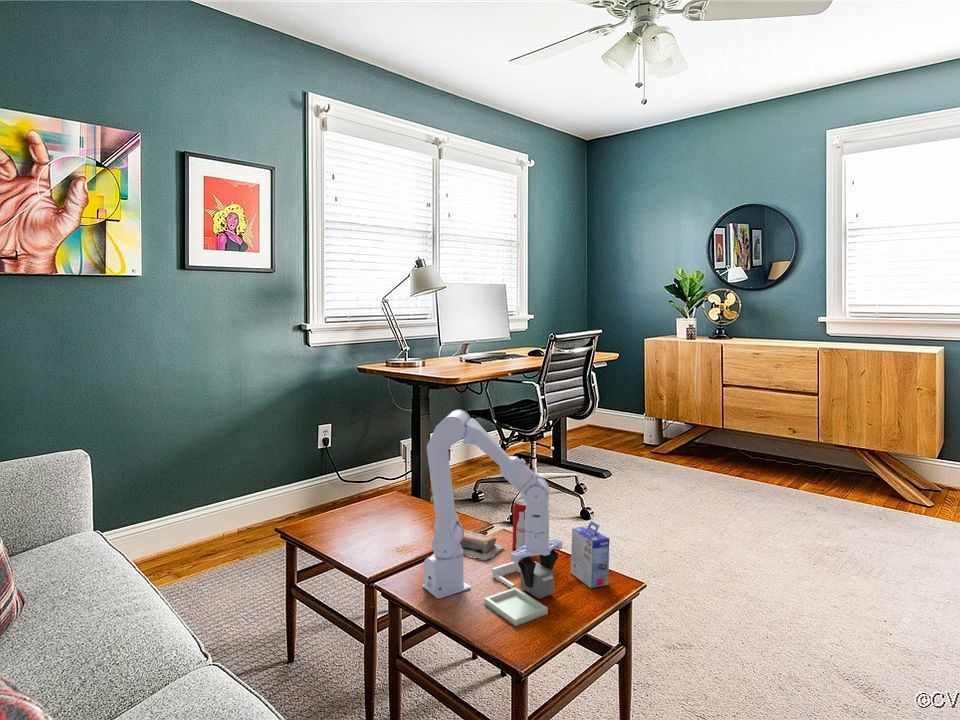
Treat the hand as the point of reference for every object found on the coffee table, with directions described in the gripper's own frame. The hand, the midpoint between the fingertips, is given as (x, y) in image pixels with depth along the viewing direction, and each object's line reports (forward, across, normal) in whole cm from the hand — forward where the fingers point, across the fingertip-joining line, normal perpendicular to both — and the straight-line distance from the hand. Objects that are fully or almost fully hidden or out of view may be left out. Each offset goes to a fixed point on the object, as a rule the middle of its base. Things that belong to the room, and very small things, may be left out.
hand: (537, 583), depth 147 cm
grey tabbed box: (+2, 0, 0) cm, 2 cm away
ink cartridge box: (+3, +16, -2) cm, 16 cm away
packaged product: (+3, +1, +32) cm, 32 cm away
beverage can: (+3, +12, +21) cm, 24 cm away
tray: (+2, -9, -3) cm, 10 cm away
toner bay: (+2, 0, +9) cm, 9 cm away
